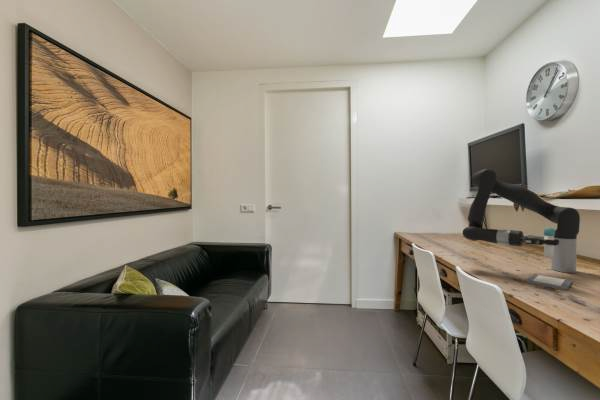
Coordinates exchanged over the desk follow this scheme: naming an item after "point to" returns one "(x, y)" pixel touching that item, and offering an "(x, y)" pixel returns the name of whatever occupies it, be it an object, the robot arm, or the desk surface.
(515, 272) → the desk surface
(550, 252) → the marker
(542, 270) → the desk surface
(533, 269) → the desk surface
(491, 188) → the robot arm
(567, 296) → the desk surface
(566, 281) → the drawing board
